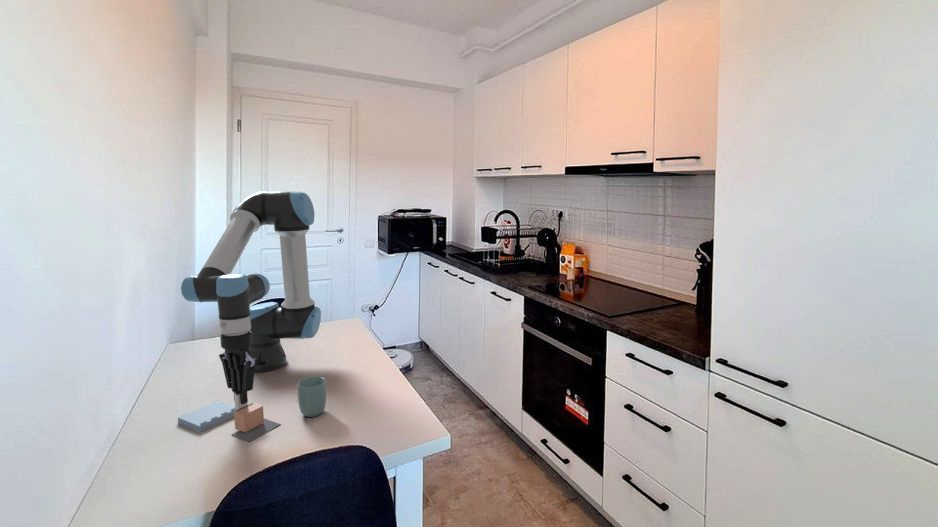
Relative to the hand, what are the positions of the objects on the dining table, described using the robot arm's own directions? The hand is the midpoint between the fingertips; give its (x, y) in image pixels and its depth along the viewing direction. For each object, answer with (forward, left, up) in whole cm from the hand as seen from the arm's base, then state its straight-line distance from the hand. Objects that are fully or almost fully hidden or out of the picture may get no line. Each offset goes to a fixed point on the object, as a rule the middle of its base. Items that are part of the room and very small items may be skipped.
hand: (241, 413), depth 124 cm
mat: (+6, 0, -4) cm, 7 cm away
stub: (+3, 0, -4) cm, 4 cm away
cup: (+12, +14, -4) cm, 19 cm away
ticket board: (-12, -2, -4) cm, 13 cm away
